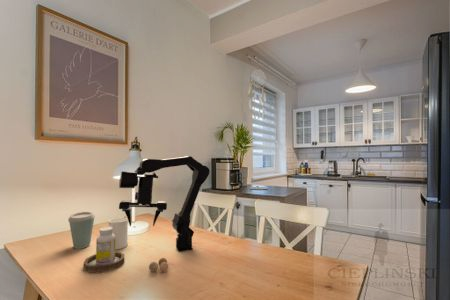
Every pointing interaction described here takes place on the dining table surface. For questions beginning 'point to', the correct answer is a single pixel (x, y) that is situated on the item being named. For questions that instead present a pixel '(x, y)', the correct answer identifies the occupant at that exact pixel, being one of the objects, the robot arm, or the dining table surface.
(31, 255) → the dining table surface
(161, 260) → the bead honey
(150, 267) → the bead maple
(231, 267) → the dining table surface
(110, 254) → the supplement bottle
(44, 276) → the dining table surface
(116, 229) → the mug
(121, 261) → the faceted wooden bowl
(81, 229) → the disposable coffee cup
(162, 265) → the pinkish tan ball
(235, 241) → the dining table surface
